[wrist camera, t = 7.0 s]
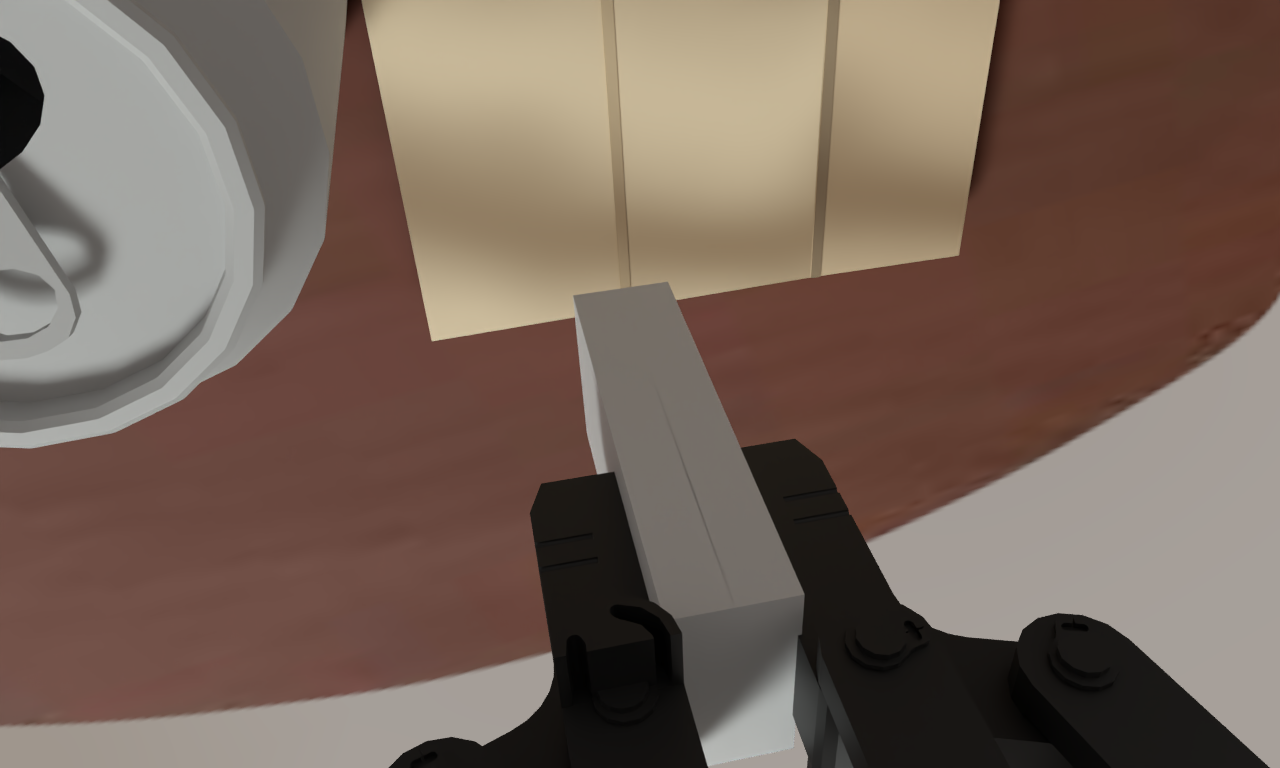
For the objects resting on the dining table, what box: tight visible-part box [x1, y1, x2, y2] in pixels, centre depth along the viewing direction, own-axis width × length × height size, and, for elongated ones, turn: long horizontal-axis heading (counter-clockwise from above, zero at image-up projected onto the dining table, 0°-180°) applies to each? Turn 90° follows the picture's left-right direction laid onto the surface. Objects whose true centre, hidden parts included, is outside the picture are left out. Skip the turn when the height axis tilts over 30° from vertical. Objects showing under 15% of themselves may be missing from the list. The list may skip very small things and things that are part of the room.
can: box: [0, 0, 347, 448], centre depth 15 cm, size 8×8×12 cm
